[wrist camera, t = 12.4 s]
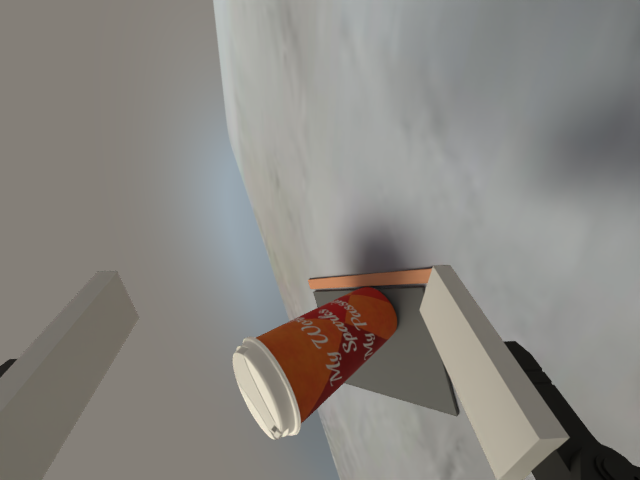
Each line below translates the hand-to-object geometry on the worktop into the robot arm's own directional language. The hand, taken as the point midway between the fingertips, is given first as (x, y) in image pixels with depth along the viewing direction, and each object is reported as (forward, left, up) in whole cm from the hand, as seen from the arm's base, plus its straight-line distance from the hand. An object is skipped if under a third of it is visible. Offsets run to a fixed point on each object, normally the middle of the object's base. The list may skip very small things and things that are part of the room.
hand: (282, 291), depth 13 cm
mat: (+11, -10, -16) cm, 22 cm away
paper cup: (+8, -9, -15) cm, 19 cm away
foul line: (+4, -9, -16) cm, 19 cm away
